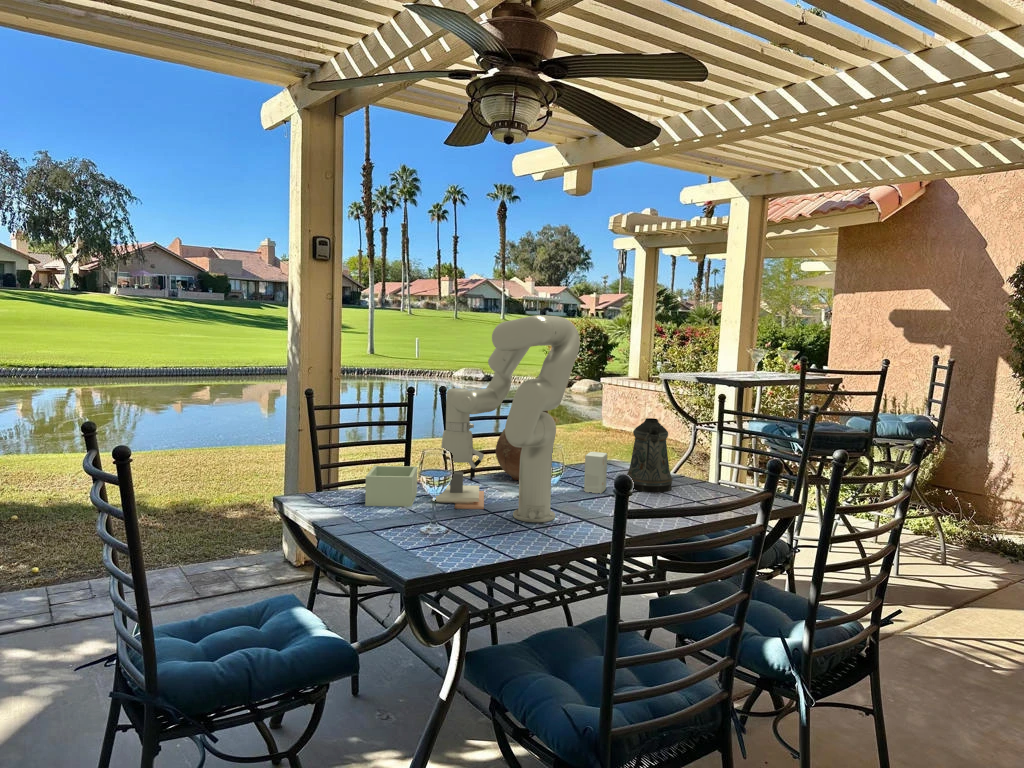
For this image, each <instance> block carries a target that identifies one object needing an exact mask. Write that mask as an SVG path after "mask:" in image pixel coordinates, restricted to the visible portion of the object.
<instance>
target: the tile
mask: <svg viewBox="0 0 1024 768" xmlns="http://www.w3.org/2000/svg"><path fill="white" fill-rule="evenodd" d="M484 508H485V491H484V490H479V502H473V503H454V506H453V509H455V510H456V509H457V510H460V509H463V510H484Z"/></svg>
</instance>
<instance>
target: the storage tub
mask: <svg viewBox="0 0 1024 768" xmlns="http://www.w3.org/2000/svg"><path fill="white" fill-rule="evenodd" d="M417 495H418V466H410V465H409V466H408V465H406V466H404V465H401V466H400V465H374V466H372V468H371V469H370V470H369V472H368V473H367V474H366V475H365V503H364V505H365V507H412V506H413V504H414V501H415V500H416V497H417Z"/></svg>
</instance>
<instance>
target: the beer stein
mask: <svg viewBox="0 0 1024 768" xmlns="http://www.w3.org/2000/svg"><path fill="white" fill-rule="evenodd" d="M632 433H633V436H634V442H633V448H632V451H631V453H632V454H631V459H630V464H629V468H628V471H627V474H626V475H629V476H630V477H631V478H632V480H633V482H634V488H633V491H636V490H637V492H642V491H643V493H657V494H658V493H666V492H669V491H670V490H671V489H672V486H673V485H672V484H673V477H672V474H671V470H670V464H669V457H668V454H669V453H668V446H667V439H668V437H669V432H668V430H667V429H666V428H665V426H663V425H662V424H661V422H659V419H658V418H652V417H651V418H649V417H647V418H645V419H644V421H643V422H642V423H641V424H639V425H638V426H637V427H635V428H634V429H633V432H632ZM634 489H635V490H634Z"/></svg>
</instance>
